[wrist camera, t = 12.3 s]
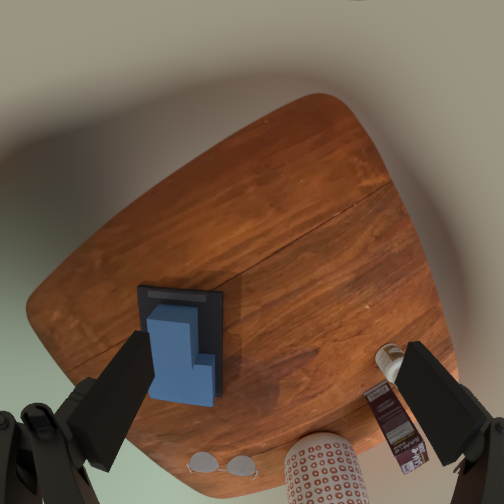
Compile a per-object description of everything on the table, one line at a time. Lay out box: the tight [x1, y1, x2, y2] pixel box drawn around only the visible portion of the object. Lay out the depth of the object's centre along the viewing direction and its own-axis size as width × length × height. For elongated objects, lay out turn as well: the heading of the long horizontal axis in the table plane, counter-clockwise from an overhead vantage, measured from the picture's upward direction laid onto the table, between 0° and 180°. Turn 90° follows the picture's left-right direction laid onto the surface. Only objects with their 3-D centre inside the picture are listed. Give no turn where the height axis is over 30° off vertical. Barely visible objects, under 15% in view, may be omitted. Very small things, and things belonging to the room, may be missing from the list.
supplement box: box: [364, 380, 429, 475], centre depth 33 cm, size 9×5×16 cm, turn 32°
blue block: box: [147, 304, 199, 371], centre depth 34 cm, size 7×6×5 cm
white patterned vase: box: [284, 432, 369, 504], centre depth 29 cm, size 13×13×28 cm
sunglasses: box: [187, 452, 258, 479], centre depth 43 cm, size 14×8×5 cm, turn 86°
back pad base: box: [137, 285, 223, 407], centre depth 36 cm, size 18×12×4 cm, turn 177°
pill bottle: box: [375, 343, 405, 389], centre depth 35 cm, size 4×4×8 cm
